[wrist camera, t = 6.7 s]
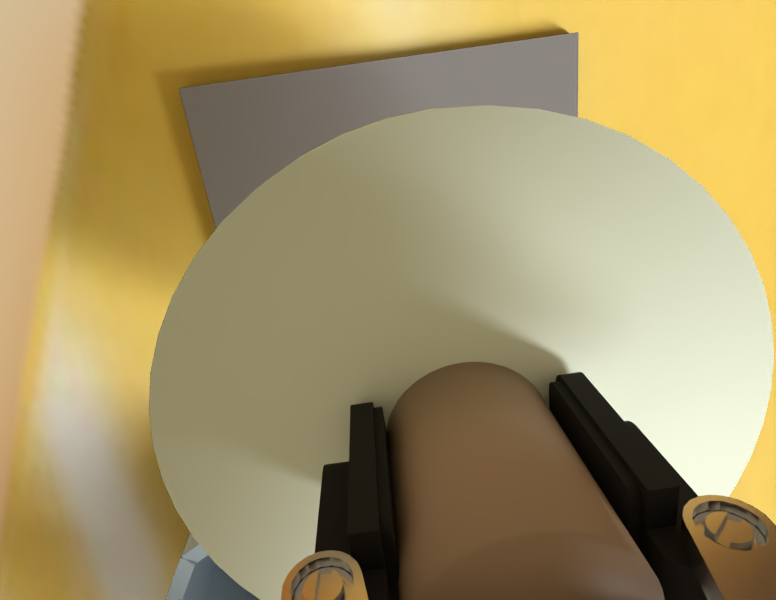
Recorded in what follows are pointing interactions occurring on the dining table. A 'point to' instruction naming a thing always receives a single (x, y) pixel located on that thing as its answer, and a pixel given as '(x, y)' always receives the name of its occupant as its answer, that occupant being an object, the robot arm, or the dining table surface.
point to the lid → (459, 350)
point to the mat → (361, 105)
